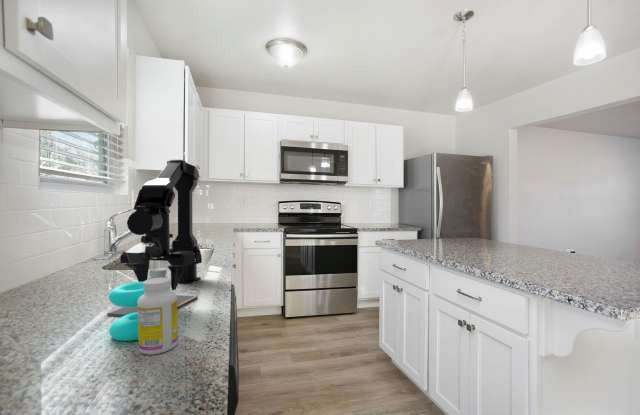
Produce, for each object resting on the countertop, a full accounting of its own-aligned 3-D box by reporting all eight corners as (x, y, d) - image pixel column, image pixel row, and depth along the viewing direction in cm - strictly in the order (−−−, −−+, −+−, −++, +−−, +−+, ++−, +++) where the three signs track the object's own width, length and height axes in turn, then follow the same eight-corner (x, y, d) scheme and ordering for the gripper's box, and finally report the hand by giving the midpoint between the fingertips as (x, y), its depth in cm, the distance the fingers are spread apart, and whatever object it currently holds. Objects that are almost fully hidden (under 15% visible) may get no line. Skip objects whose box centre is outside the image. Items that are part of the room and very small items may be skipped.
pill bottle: (153, 307, 78) (152, 273, 78) (143, 303, 82) (142, 270, 81) (173, 301, 83) (172, 269, 82) (163, 298, 86) (162, 266, 86)
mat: (154, 295, 90) (154, 293, 90) (197, 298, 88) (197, 296, 88) (107, 315, 75) (107, 312, 75) (157, 319, 72) (157, 316, 72)
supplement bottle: (168, 336, 63) (167, 274, 63) (184, 346, 59) (183, 279, 58) (132, 348, 58) (131, 281, 57) (146, 360, 54) (145, 287, 53)
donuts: (164, 288, 63) (105, 295, 58) (165, 336, 63) (106, 348, 58) (163, 277, 71) (112, 283, 67) (164, 320, 72) (112, 328, 67)
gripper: (101, 233, 76) (102, 296, 76) (167, 234, 72) (168, 300, 72) (136, 229, 87) (137, 284, 87) (196, 230, 83) (196, 287, 83)
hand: (158, 289), depth 82 cm, fingers open, 9 cm apart
